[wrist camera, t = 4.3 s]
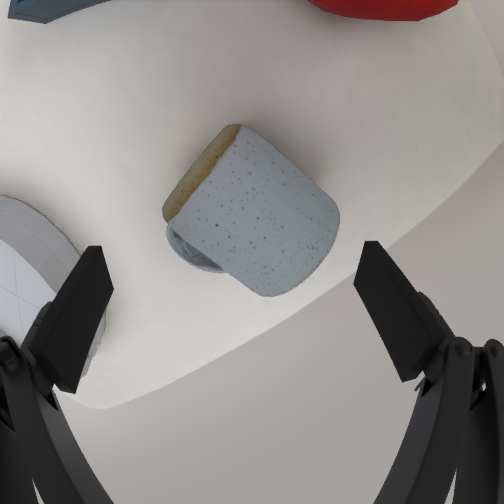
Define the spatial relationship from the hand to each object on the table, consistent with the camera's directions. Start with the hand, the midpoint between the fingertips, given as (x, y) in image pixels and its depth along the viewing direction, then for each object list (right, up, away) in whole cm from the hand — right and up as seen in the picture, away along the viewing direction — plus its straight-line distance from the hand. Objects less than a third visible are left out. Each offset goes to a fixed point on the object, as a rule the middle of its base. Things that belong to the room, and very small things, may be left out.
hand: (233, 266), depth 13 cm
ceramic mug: (0, +4, +7) cm, 8 cm away
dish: (-24, -3, +10) cm, 27 cm away
